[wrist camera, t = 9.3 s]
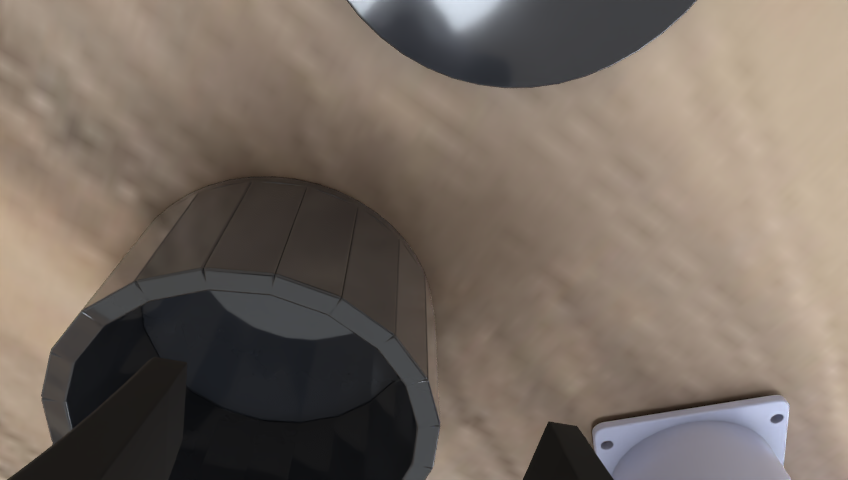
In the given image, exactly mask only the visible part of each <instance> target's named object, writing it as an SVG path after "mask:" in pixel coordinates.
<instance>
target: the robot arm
mask: <svg viewBox="0 0 848 480" xmlns="http://www.w3.org/2000/svg"><path fill="white" fill-rule="evenodd" d="M186 377H187V362H183V361H176V360H170V359H164V358H158V357H154V358H152V359H150V360H148V361H147V362H146V363H145V364H144V365H143V366H142V367H141V368H140V369H139V370H138V371H137V372H136V373H135V374H134V375H133V376H132V377H131V378H130V379H129V380H128V381H127V382H125V383H124V384H123V385H122V386H121V387H120V388H119V389H118V390H117V391H116V392H115V393H114V394H112V395H111V396H110V397H109V398H108V399H107V400H106V401H105V402H104V403H102V404H101V405H100V406H99V407H98V408H97V409H96V410H94V411H93V412H92V413H91V414H90V415H89V416H87V417H86V418H85V419H84V420H83V421H81V422H80V423H79V424H78V425H77V426H76V427H74V428H73V429H72V430H71V431H70V432H68V433H67V434H66V435H65V436H64V437H62V438H61V439H60V440H59V441H57V442H56V443H55V444H54V445H52V446H51V447H50V448H48V449H47V450H46V451H44V452H43V453H42V454H41V455H39V456H38V457H37V458H35V459H34V460H33V461H32V462H30V463H29V464H28V465H26V466H25V467H24V468H22V469H21V470H20V471H18V472H17V473H16V474H14V475H13V476H12V477H10V478H9V479H7V480H168V479H169V476H170V474H171V471H172V468H173V465H174V463H175V460H176V457H177V454H178V451H179V448H180V445H181V442H182V440H183V426H184V410H185V393H186ZM789 408H790V406H789V403H788V402H787V400H786V399H785V398H784V397H783V396H781V395H770V396H764V397H758V398H751V399H745V400H739V401H733V402H726V403H720V404H714V405H708V406H701V407H695V408H689V409H683V410H676V411H670V412H664V413H658V414H651V415H645V416H639V417H633V418H626V419H620V420H614V421H607V422H602V423H599V424H597V425H596V426H595V427H594V428H593V431H592V436H593V445H594V450H593V448H592V447H591V446H590V444H589V443H588V441H587V440H586V438H585V437H584V435H583V434H582V433H581V431H580V430H579V428H578V427H577V426H573V425H567V424H561V423H554V422H548V424H547V426H546V428H545V431H544V433H543V435H542V437H541V440H540V442H539V444H538V446H537V449H536V451H535V453H534V455H533V458H532V460H531V462H530V465H529V467H528V469H527V471H526V474H525V476H524V478H523V480H791V478H790V476H789V475H788V473H787V472H786V470H785V469H784V467H783V466H784V457H785V447H786V437H787V427H788V418H789ZM773 415H774V416H773ZM605 441H608V442H605Z"/></svg>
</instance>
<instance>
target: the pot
mask: <svg viewBox="0 0 848 480" xmlns="http://www.w3.org/2000/svg"><path fill="white" fill-rule="evenodd" d="M154 357H158V358H164V359H170V360H176V361H183V362H187V377H186V393H185V410H184V426H183V440H182V442H181V445H180V448H179V451H178V454H177V457H176V460H175V463H174V465H173V468H172V471H171V474H170V476H169V479H168V480H425V479H426V478H427V476H428V475H429V473H430V472H431V470H432V468H433V466H434V462H435V456H436V450H437V444H438V438H439V431H440V406H439V386H438V366H437V347H436V327H435V313H434V309H433V304H432V298H431V292H430V287H429V284H428V281H427V278H426V275H425V272H424V270H423V268H422V266H421V264H420V262H419V260H418V258H417V256H416V255H415V253H414V252H413V250H412V249H411V248H410V246H409V245H408V243H407V242H406V240H405V239H404V238H403V237H402V236H401V235H400V234H399V233H398V232H397V231H396V230H395V228H394V227H393V226H392V225H390V224H389V223H388V222H387V221H386V220H384V219H383V218H382V217H381V216H380V215H379V214H377V213H376V212H375V211H373V210H371V209H370V208H368V207H367V206H365V205H364V204H362V203H361V202H359V201H357V200H355V199H353V198H351V197H349V196H347V195H345V194H343V193H341V192H339V191H336V190H333V189H331V188H328V187H325V186H322V185H319V184H315V183H311V182H307V181H302V180H298V179H290V178H281V177H248V178H240V179H233V180H227V181H224V182H220V183H216V184H213V185H209V186H207V187H204V188H202V189H199V190H197V191H195V192H192V193H190V194H188V195H187V196H185V197H183V198H182V199H180V200H178V201H177V202H175V203H173V204H172V205H171V206H170V207H168V208H167V209H166V210H165V211H164V212H162V213H161V214H160V215H158V216H157V217H156V218H155V219H154V220H153V222H152V223H151V224H150V225H149V227H148V228H147V229H146V230H145V232H144V233H143V234H142V235H141V237H140V238H139V239H138V240H137V242H136V243H135V244H134V245H133V247H132V248H131V249H130V250H129V252H128V253H127V254H126V255H125V257H124V258H123V259H122V260H121V262H120V263H119V264H118V265H117V267H116V268H115V269H114V270H113V272H112V273H111V274H110V275H109V277H108V278H107V279H106V280H105V282H104V283H103V284H102V285H101V287H100V288H99V289H98V290H97V292H96V293H95V294H94V295H93V297H92V298H91V299H90V300H89V302H88V303H87V304H86V305H85V307H84V308H83V309H82V310H81V312H80V313H79V314H78V315H77V317H76V318H75V319H74V321H73V322H72V323H71V324H70V326H69V327H68V328H67V330H66V331H65V332H64V333H63V335H62V336H61V337H60V338H59V340H58V341H57V342H56V344H55V345H54V346H53V347H52V349H51V352H50V355H49V360H48V365H47V370H46V375H45V379H44V384H43V389H42V394H41V396H42V404H43V408H44V412H45V416H46V420H47V424H48V428H49V432H50V436H51V440H52V442H53V445H54V444H55V443H56V442H57V441H59V440H60V439H61V438H62V437H64V436H65V435H66V434H67V433H68V432H70V431H71V430H72V429H73V428H74V427H76V426H77V425H78V424H79V423H80V422H81V421H83V420H84V419H85V418H86V417H87V416H89V415H90V414H91V413H92V412H93V411H94V410H96V409H97V408H98V407H99V406H100V405H101V404H102V403H104V402H105V401H106V400H107V399H108V398H109V397H110V396H111V395H112V394H114V393H115V392H116V391H117V390H118V389H119V388H120V387H121V386H122V385H123V384H124V383H125V382H127V381H128V380H129V379H130V378H131V377H132V376H133V375H134V374H135V373H136V372H137V371H138V370H139V369H140V368H141V367H142V366H143V365H144V364H145V363H146V362H147V361H148V360H150V359H152V358H154Z"/></svg>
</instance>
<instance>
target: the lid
mask: <svg viewBox="0 0 848 480" xmlns="http://www.w3.org/2000/svg"><path fill="white" fill-rule="evenodd" d="M696 1H697V0H347V2H348V3H349V4H350V5H351V7H352V8H353V9H354V11H355V12H356V13H357V14H358V16H359V17H360V18H361V19H362V20H363V21H364V22H365V23H366V24H367V25H368V26H369V27H370V28H371V29H373V30H374V31H375V32H376V33H377V34H378V35H379V36H380V37H381V38H382V39H383V40H385V41H386V42H387V43H389V44H390V45H391V46H393V47H394V48H395V49H397V50H398V51H399V52H401V53H402V54H403V55H405V56H407V57H409V58H410V59H412V60H414V61H416V62H417V63H419V64H421V65H423V66H424V67H426V68H428V69H431V70H433V71H436V72H438V73H441V74H443V75H446V76H448V77H451V78H453V79H457V80H461V81H465V82H469V83H473V84H477V85H484V86H492V87H501V88H533V87H540V86H547V85H554V84H560V83H563V82H567V81H571V80H574V79H578V78H582V77H585V76H588V75H590V74H593V73H595V72H598V71H600V70H602V69H605V68H607V67H610V66H612V65H614V64H616V63H617V62H619V61H621V60H623V59H625V58H626V57H628V56H630V55H632V54H634V53H636V52H637V51H639V50H640V49H642V48H643V47H644V46H646V45H647V44H649V43H650V42H651V41H653V40H654V39H656V38H657V37H658V36H660V35H661V34H663V33H664V32H665V31H666V30H667V29H668V28H669V27H670V26H671V25H673V24H674V23H675V22H676V21H677V20H678V19H679V18H680V17H682V16H683V15H684V14H685V13H686V12H687V11H688V10H689V9H690V7H691V6H692V5H693V4H694V3H695V2H696Z"/></svg>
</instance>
